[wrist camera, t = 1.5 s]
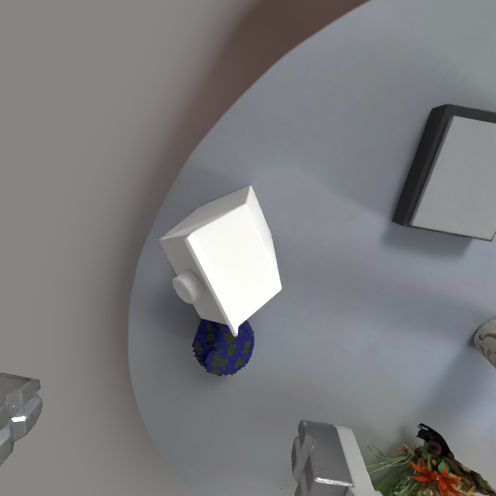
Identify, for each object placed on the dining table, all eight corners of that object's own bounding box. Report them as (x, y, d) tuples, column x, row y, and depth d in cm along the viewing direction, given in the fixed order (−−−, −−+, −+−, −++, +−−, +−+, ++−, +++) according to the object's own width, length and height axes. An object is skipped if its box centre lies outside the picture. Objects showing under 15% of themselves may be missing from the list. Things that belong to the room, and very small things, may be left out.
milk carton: (251, 184, 32) (243, 214, 14) (271, 235, 34) (288, 319, 16) (199, 206, 33) (131, 260, 15) (222, 254, 35) (186, 353, 17)
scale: (432, 106, 29) (452, 100, 26) (527, 124, 29) (558, 120, 26) (391, 221, 33) (404, 227, 30) (474, 235, 33) (496, 243, 30)
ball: (241, 353, 40) (238, 395, 33) (194, 338, 40) (180, 378, 32) (259, 311, 38) (260, 347, 31) (209, 295, 37) (198, 327, 30)
